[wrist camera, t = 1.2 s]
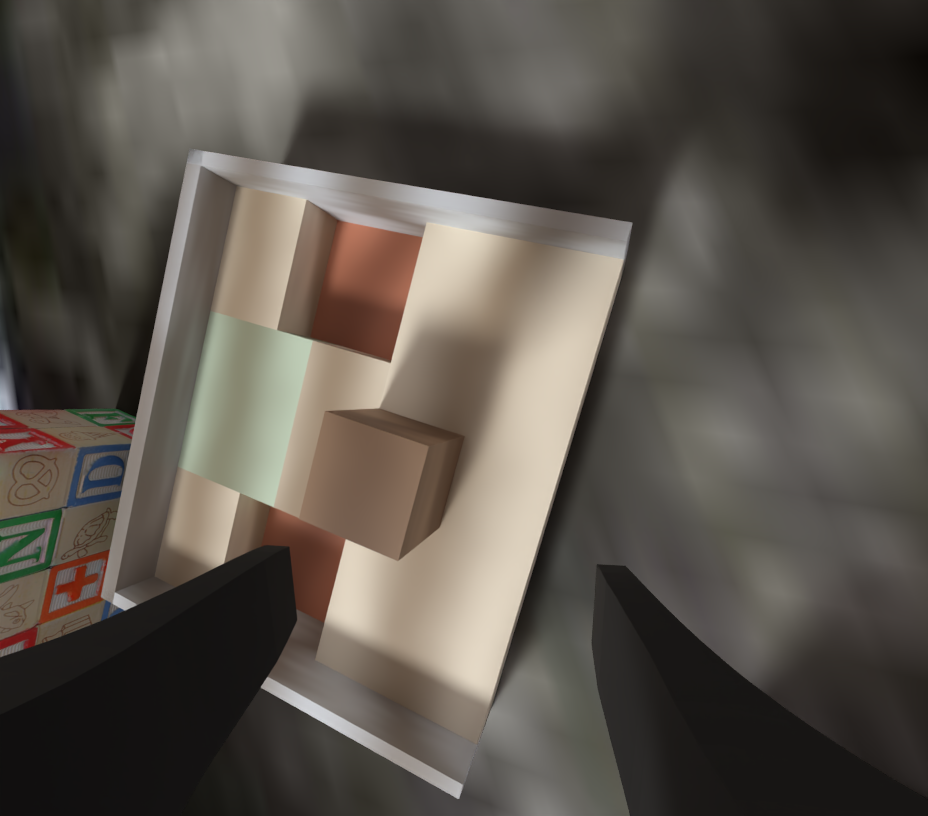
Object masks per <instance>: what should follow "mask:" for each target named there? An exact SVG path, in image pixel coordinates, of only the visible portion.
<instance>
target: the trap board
mask: <svg viewBox="0 0 928 816" xmlns="http://www.w3.org/2000/svg"><path fill="white" fill-rule="evenodd" d="M631 229H632V223H631V222H625V221H619V220H613V219H607V218H601V217H595V216H589V215H583V214H577V213H571V212H565V211H559V210H553V209H547V208H541V207H535V206H529V205H523V204H517V203H511V202H505V201H499V200H493V199H487V198H481V197H475V196H469V195H463V194H457V193H451V192H445V191H439V190H433V189H427V188H421V187H415V186H409V185H403V184H397V183H391V182H385V181H379V180H373V179H367V178H361V177H355V176H350V175H344V174H338V173H332V172H326V171H320V170H314V169H308V168H302V167H296V166H290V165H284V164H278V163H272V162H266V161H260V160H254V159H248V158H242V157H236V156H230V155H224V154H218V153H212V152H206V151H200V150H194V149H190V150H189V155H188V160H187V165H186V170H185V175H184V180H183V185H182V190H181V195H180V200H179V205H178V210H177V215H176V220H175V225H174V230H173V235H172V240H171V245H170V250H169V255H168V260H167V266H166V271H165V276H164V281H163V286H162V291H161V296H160V301H159V306H158V311H157V316H156V321H155V326H154V331H153V336H152V341H151V346H150V351H149V356H148V361H147V366H146V371H145V376H144V381H143V387H142V392H141V397H140V402H139V407H138V412H137V417H136V422H135V427H134V432H133V437H132V442H131V447H130V452H129V457H128V462H127V467H126V472H125V477H124V482H123V487H122V492H121V497H120V502H119V508H118V513H117V518H116V523H115V528H114V533H113V538H112V543H111V548H110V553H109V558H108V563H107V568H106V573H105V578H104V583H103V588H102V593H101V597H102V598H103V599H105V600H107V601H109V602H110V603H112V604H114V605H116V606H117V607H119V608H121V609H123V610H127V609H130V608H132V607H134V606H136V605H138V604H140V603H143V602H145V601H147V600H149V599H151V598H153V597H156V596H158V595H160V594H162V593H164V592H166V591H169V590H171V589H173V588H175V587H177V586H179V585H181V584H183V583H185V582H187V581H189V580H191V579H194V578H196V577H198V576H200V575H202V574H204V573H206V572H208V571H210V570H212V569H214V568H216V567H218V566H220V565H222V564H224V563H226V562H228V561H230V560H232V559H234V558H236V557H238V556H241V555H243V554H245V553H247V552H249V551H252V550H254V549H256V548H259V547H262V546H264V545H275V546H289V547H290V556H291V565H292V575H293V584H294V593H295V602H296V611H297V622H296V624H295V627H294V629H293V631H292V633H291V635H290V637H289V639H288V641H287V643H286V645H285V647H284V649H283V651H282V653H281V655H280V657H279V659H278V661H277V663H276V664H275V666H274V667H273V669H272V671H271V672H270V674H269V675H268V677H267V678H266V680H265V681H264V683H263V684H262V686H261V688H263V689H264V690H266V691H268V692H270V693H272V694H273V695H275V696H277V697H279V698H280V699H282V700H284V701H286V702H288V703H289V704H291V705H293V706H295V707H296V708H298V709H300V710H302V711H303V712H305V713H307V714H309V715H311V716H312V717H314V718H316V719H318V720H319V721H321V722H323V723H325V724H326V725H328V726H330V727H332V728H334V729H335V730H337V731H339V732H341V733H342V734H344V735H346V736H348V737H350V738H351V739H353V740H355V741H357V742H358V743H360V744H362V745H364V746H365V747H367V748H369V749H371V750H373V751H374V752H376V753H378V754H380V755H381V756H383V757H385V758H387V759H388V760H390V761H392V762H394V763H396V764H397V765H399V766H401V767H403V768H404V769H406V770H408V771H410V772H412V773H413V774H415V775H417V776H419V777H420V778H422V779H424V780H426V781H427V782H429V783H431V784H433V785H435V786H436V787H438V788H440V789H442V790H443V791H445V792H447V793H449V794H451V795H452V796H454V797H456V798H458V799H459V797H460V794H461V792H462V789H463V786H464V783H465V780H466V778H467V775H468V772H469V769H470V766H471V764H472V761H473V758H474V755H475V752H476V749H477V747H478V744H479V741H480V738H481V735H482V733H483V730H484V727H485V724H486V721H487V718H488V716H489V713H490V710H491V707H492V703H493V700H494V697H495V694H496V690H497V687H498V684H499V680H500V677H501V674H502V670H503V667H504V664H505V661H506V657H507V654H508V651H509V647H510V644H511V641H512V637H513V634H514V631H515V627H516V624H517V621H518V618H519V614H520V611H521V608H522V604H523V601H524V598H525V594H526V591H527V588H528V585H529V581H530V578H531V575H532V571H533V568H534V565H535V561H536V558H537V555H538V551H539V548H540V545H541V542H542V538H543V535H544V532H545V528H546V525H547V522H548V518H549V515H550V512H551V509H552V505H553V502H554V499H555V495H556V492H557V489H558V485H559V482H560V479H561V475H562V472H563V469H564V466H565V462H566V459H567V456H568V452H569V449H570V446H571V442H572V439H573V436H574V433H575V429H576V426H577V423H578V419H579V416H580V413H581V409H582V406H583V403H584V399H585V396H586V393H587V390H588V386H589V383H590V380H591V376H592V373H593V370H594V366H595V363H596V360H597V357H598V353H599V350H600V347H601V343H602V340H603V337H604V333H605V330H606V327H607V323H608V320H609V317H610V314H611V310H612V307H613V304H614V300H615V297H616V294H617V290H618V287H619V284H620V281H621V277H622V274H623V271H624V267H625V263H626V257H627V251H628V246H629V240H630V234H631ZM376 408H380V409H383V410H386V411H389V412H392V413H395V414H398V415H401V416H404V417H407V418H411V419H414V420H417V421H420V422H423V423H426V424H429V425H432V426H435V427H438V428H441V429H444V430H447V431H451V432H454V433H457V434H460V435H463V436H465V437H464V441H463V445H462V448H461V452H460V455H459V459H458V463H457V466H456V470H455V473H454V477H453V481H452V484H451V488H450V491H449V495H448V499H447V502H446V506H445V510H444V513H443V517H442V520H441V524H440V528H439V529H437V530H436V531H435V532H434V533H433V534H431V535H430V536H429V537H428V538H426V539H425V540H424V541H423V542H421V543H420V544H419V545H418V546H416V547H415V548H414V549H413V550H411V551H410V552H409V553H408V554H406V555H405V556H404V557H403V558H401V559H400V560H399V561H396V560H394V559H391V558H389V557H387V556H384V555H382V554H380V553H377V552H375V551H373V550H370V549H368V548H366V547H363V546H361V545H358V544H356V543H354V542H351V541H349V540H347V539H344V538H342V537H340V536H337V535H335V534H333V533H330V532H328V531H326V530H323V529H321V528H318V527H316V526H314V525H311V524H309V523H307V522H304V521H302V520H300V519H299V516H300V512H301V508H302V503H303V499H304V495H305V491H306V487H307V483H308V479H309V475H310V470H311V466H312V462H313V458H314V454H315V450H316V446H317V442H318V437H319V433H320V429H321V425H322V421H323V417H324V413H325V411H335V410H355V409H376Z"/></svg>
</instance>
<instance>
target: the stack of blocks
mask: <svg viewBox="0 0 928 816" xmlns="http://www.w3.org/2000/svg"><path fill="white" fill-rule="evenodd" d="M135 422H136V417H134V416H132V415H129V414H127V413H125V412H122V411H120V410H118V409H67V410H0V657H2V656H5V655H8V654H11V653H14V652H17V651H20V650H23V649H26V648H29V647H32V646H35V645H38V644H41V643H44V642H47V641H50V640H53V639H55V638H58V637H61V636H63V635H66V634H68V633H71V632H74V631H76V630H79V629H81V628H84V627H87V626H89V625H92V624H94V623H97V622H99V621H102V620H104V619H106V618H109V617H111V616H114V615H116V614H118V613H121V612H123V611H125V610H123V609H121V608H119V607H117V606H116V605H114V604H112V603H110V602H109V601H107V600H105V599H103V598H102V597H101V593H102V588H103V583H104V578H105V573H106V568H107V563H108V558H109V553H110V548H111V543H112V538H113V533H114V528H115V523H116V518H117V513H118V508H119V502H120V497H121V492H122V487H123V482H124V477H125V472H126V467H127V462H128V457H129V452H130V447H131V442H132V437H133V432H134V427H135Z"/></svg>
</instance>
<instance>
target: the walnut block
mask: <svg viewBox="0 0 928 816" xmlns="http://www.w3.org/2000/svg"><path fill="white" fill-rule="evenodd" d="M464 437H465V436H463V435H460V434H457V433H454V432H451V431H447V430H444V429H441V428H438V427H435V426H432V425H429V424H426V423H423V422H420V421H417V420H414V419H411V418H407V417H404V416H401V415H398V414H395V413H392V412H389V411H386V410H383V409H380V408H376V409H355V410H335V411H325V413H324V417H323V421H322V425H321V429H320V433H319V437H318V442H317V446H316V450H315V454H314V458H313V462H312V466H311V470H310V475H309V479H308V483H307V487H306V491H305V495H304V499H303V503H302V508H301V512H300V516H299V519H300V520H302V521H304V522H307V523H309V524H311V525H314V526H316V527H318V528H321V529H323V530H326V531H328V532H330V533H333V534H335V535H337V536H340V537H342V538H344V539H347V540H349V541H351V542H354V543H356V544H358V545H361V546H363V547H366V548H368V549H370V550H373V551H375V552H377V553H380V554H382V555H384V556H387V557H389V558H391V559H394V560H396V561H399V560H400V559H401V558H403V557H404V556H405V555H406V554H408V553H409V552H410V551H411V550H413V549H414V548H415V547H416V546H418V545H419V544H420V543H421V542H423V541H424V540H425V539H426V538H428V537H429V536H430V535H431V534H433V533H434V532H435V531H436V530H437V529H439V528H440V524H441V520H442V517H443V513H444V510H445V506H446V502H447V499H448V495H449V491H450V488H451V484H452V481H453V477H454V473H455V470H456V466H457V463H458V459H459V455H460V452H461V448H462V445H463V441H464Z"/></svg>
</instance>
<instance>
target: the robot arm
mask: <svg viewBox="0 0 928 816" xmlns="http://www.w3.org/2000/svg"><path fill="white" fill-rule="evenodd" d="M296 622H297V611H296V602H295V593H294V584H293V575H292V565H291V556H290V547H289V546H275V545H264V546H262V547H259V548H256V549H254V550H252V551H249V552H247V553H245V554H243V555H241V556H238V557H236V558H234V559H232V560H230V561H228V562H226V563H224V564H222V565H220V566H218V567H216V568H214V569H212V570H210V571H208V572H206V573H204V574H202V575H200V576H198V577H196V578H194V579H191V580H189V581H187V582H185V583H183V584H181V585H179V586H177V587H175V588H173V589H171V590H169V591H166V592H164V593H162V594H160V595H158V596H156V597H153V598H151V599H149V600H147V601H145V602H143V603H140V604H138V605H136V606H134V607H132V608H130V609H127V610H125V611H123V612H121V613H118V614H116V615H114V616H111V617H109V618H106V619H104V620H102V621H99V622H97V623H94V624H92V625H89V626H87V627H84V628H81V629H79V630H76V631H74V632H71V633H68V634H66V635H63V636H61V637H58V638H55V639H53V640H50V641H47V642H44V643H41V644H38V645H35V646H32V647H29V648H26V649H23V650H20V651H17V652H14V653H11V654H8V655H5V656H2V657H0V816H180V815H181V813H182V812H183V810H184V808H185V806H186V804H187V803H188V801H189V799H190V797H191V795H192V793H193V792H194V790H195V788H196V786H197V784H198V783H199V781H200V780H201V778H202V776H203V775H204V773H205V771H206V770H207V768H208V767H209V765H210V763H211V762H212V760H213V759H214V757H215V756H216V754H217V753H218V751H219V749H220V748H221V746H222V745H223V743H224V742H225V740H226V739H227V737H228V736H229V734H230V733H231V731H232V730H233V728H234V727H235V725H236V724H237V722H238V721H239V719H240V718H241V716H242V715H243V713H244V712H245V710H246V709H247V707H248V706H249V704H250V703H251V701H252V700H253V698H254V697H255V695H256V694H257V692H258V691H259V689H260V688H261V686H262V684H263V683H264V681H265V680H266V678H267V677H268V675H269V674H270V672H271V671H272V669H273V667H274V666H275V664H276V663H277V661H278V659H279V657H280V655H281V653H282V651H283V649H284V647H285V645H286V643H287V641H288V639H289V637H290V635H291V633H292V631H293V629H294V627H295V624H296ZM592 650H593V658H594V665H595V672H596V679H597V685H598V691H599V695H600V700H601V704H602V708H603V711H604V715H605V719H606V723H607V727H608V731H609V735H610V739H611V743H612V747H613V751H614V754H615V758H616V762H617V766H618V770H619V774H620V778H621V781H622V785H623V789H624V793H625V797H626V801H627V805H628V809H629V813H630V816H928V799H926V798H924V797H922V796H921V795H919V794H917V793H916V792H914V791H912V790H910V789H909V788H907V787H905V786H904V785H902V784H900V783H898V782H897V781H895V780H893V779H892V778H890V777H888V776H887V775H885V774H884V773H882V772H880V771H879V770H877V769H875V768H874V767H872V766H871V765H869V764H867V763H866V762H864V761H863V760H861V759H859V758H858V757H856V756H855V755H853V754H851V753H850V752H848V751H847V750H845V749H844V748H842V747H841V746H839V745H838V744H836V743H835V742H833V741H832V740H830V739H829V738H827V737H826V736H824V735H823V734H821V733H820V732H818V731H817V730H815V729H814V728H812V727H811V726H809V725H808V724H806V723H805V722H803V721H802V720H801V719H799V718H798V717H796V716H795V715H794V714H792V713H791V712H789V711H788V710H786V709H785V708H784V707H782V706H781V705H780V704H778V703H777V702H776V701H774V700H773V699H772V698H770V697H769V696H768V695H766V694H765V693H764V692H762V691H761V690H760V689H758V688H757V687H756V686H754V685H753V684H752V683H751V682H749V681H748V680H747V679H745V678H744V677H743V676H742V675H740V674H739V673H738V672H737V671H735V670H734V669H733V668H732V667H731V666H729V665H728V664H727V663H726V662H725V661H723V660H722V659H721V658H720V657H719V656H718V655H717V654H715V653H714V652H713V651H712V650H711V649H710V648H708V647H707V646H706V645H705V644H704V643H703V642H702V641H700V640H699V639H698V638H697V637H696V636H695V635H694V634H693V633H692V632H691V631H690V630H688V629H687V628H686V627H685V626H684V625H683V624H682V623H681V622H680V621H679V620H678V619H677V618H676V617H675V616H674V615H673V614H672V613H671V612H670V611H669V610H668V609H667V608H666V607H665V606H664V605H663V604H662V603H661V602H660V601H659V600H658V599H657V598H656V597H655V596H654V595H653V594H652V593H651V592H650V591H649V590H648V589H647V588H646V587H645V586H644V585H643V584H642V583H641V582H640V581H639V580H638V578H637V577H636V576H635V575H634V574H633V573H632V572H631V571H630V570H629V569H628V568H627V567H626V566H617V565H599V564H597V569H596V584H595V599H594V614H593V630H592Z"/></svg>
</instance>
